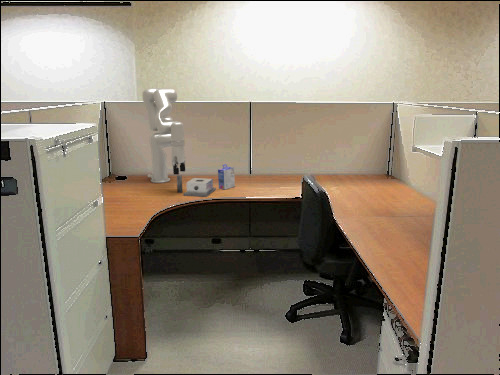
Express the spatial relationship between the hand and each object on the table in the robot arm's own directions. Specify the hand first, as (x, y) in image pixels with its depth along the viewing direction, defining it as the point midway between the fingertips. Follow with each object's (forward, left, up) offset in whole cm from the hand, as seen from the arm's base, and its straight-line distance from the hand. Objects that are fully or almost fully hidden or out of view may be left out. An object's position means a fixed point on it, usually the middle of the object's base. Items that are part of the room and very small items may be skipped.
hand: (179, 172), depth 258 cm
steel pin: (0, +1, -12) cm, 12 cm away
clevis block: (+12, +3, -12) cm, 17 cm away
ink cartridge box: (+24, +18, -12) cm, 32 cm away
